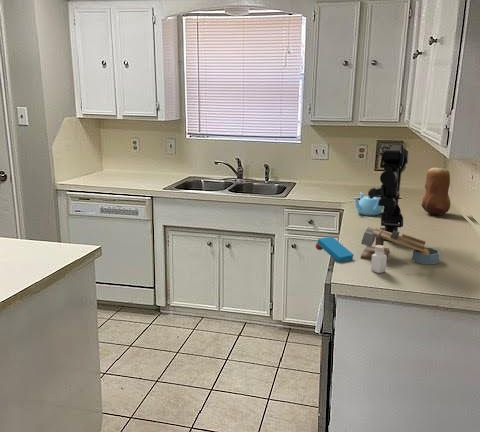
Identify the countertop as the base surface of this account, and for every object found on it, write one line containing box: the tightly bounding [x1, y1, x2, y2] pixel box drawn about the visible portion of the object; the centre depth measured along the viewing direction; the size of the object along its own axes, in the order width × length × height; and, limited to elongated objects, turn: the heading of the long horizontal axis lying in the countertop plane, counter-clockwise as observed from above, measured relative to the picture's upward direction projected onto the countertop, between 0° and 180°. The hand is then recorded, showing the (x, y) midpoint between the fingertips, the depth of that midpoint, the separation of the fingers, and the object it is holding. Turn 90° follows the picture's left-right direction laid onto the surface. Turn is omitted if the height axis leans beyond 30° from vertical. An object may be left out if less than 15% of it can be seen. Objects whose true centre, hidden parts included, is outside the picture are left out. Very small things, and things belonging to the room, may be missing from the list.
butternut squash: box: [421, 167, 451, 216], centre depth 253 cm, size 14×13×25 cm
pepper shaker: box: [370, 245, 388, 274], centre depth 174 cm, size 4×4×10 cm
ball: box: [419, 248, 429, 254], centre depth 186 cm, size 4×4×4 cm
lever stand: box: [360, 226, 390, 261], centre depth 193 cm, size 14×9×10 cm, turn 156°
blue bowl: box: [411, 246, 441, 265], centre depth 186 cm, size 10×10×4 cm
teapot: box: [353, 191, 384, 217], centre depth 259 cm, size 15×15×10 cm
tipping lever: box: [360, 227, 426, 252], centre depth 190 cm, size 9×22×7 cm, turn 66°
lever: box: [315, 236, 354, 263], centre depth 195 cm, size 7×7×18 cm
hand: (388, 218), depth 198 cm, fingers closed
